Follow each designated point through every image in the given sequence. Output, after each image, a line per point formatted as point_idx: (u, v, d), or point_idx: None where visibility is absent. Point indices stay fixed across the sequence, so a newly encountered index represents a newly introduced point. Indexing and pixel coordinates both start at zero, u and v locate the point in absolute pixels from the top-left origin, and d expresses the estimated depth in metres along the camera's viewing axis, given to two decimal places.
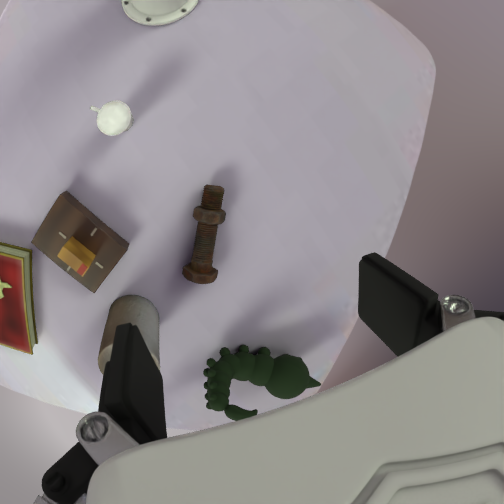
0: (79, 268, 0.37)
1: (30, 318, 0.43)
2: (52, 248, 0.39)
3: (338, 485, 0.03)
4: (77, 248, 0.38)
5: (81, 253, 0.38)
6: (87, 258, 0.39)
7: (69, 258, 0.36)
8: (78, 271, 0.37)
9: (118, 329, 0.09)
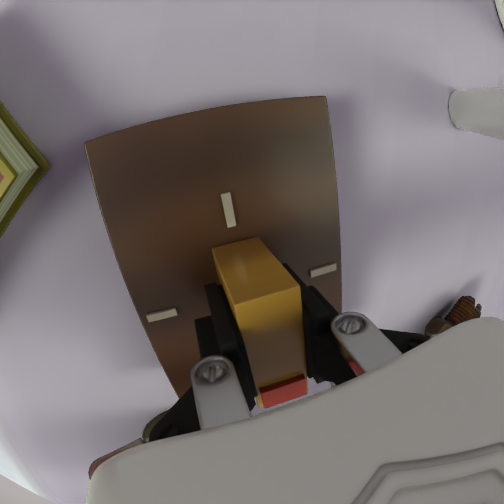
0: (280, 386, 0.10)
1: None
2: (152, 222, 0.11)
3: (338, 485, 0.03)
4: None
5: None
6: None
7: (277, 341, 0.09)
8: (269, 394, 0.10)
9: (207, 287, 0.11)
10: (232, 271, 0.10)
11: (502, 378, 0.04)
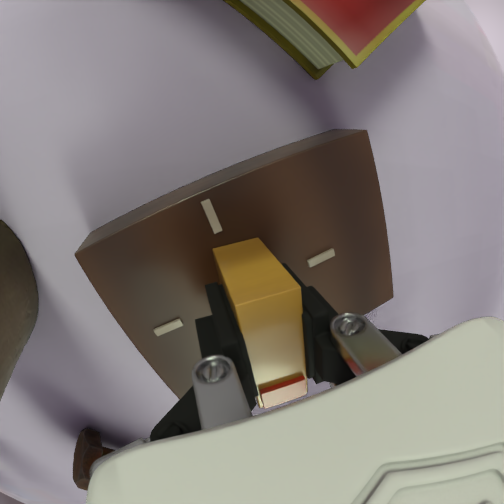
0: (280, 387, 0.10)
1: None
2: (309, 195, 0.12)
3: (338, 485, 0.03)
4: None
5: None
6: None
7: (277, 342, 0.09)
8: (268, 395, 0.10)
9: (208, 287, 0.11)
10: (233, 272, 0.10)
11: (502, 378, 0.04)
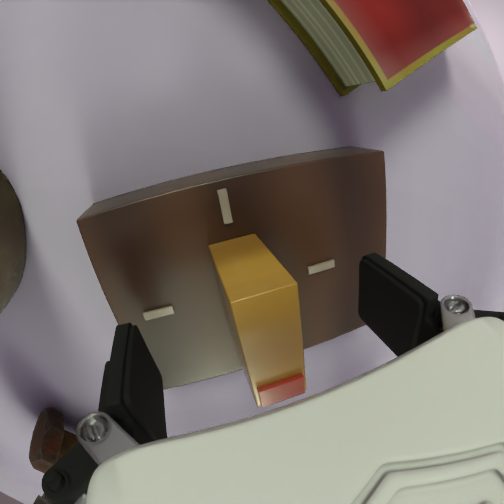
0: (277, 385, 0.10)
1: None
2: (320, 203, 0.13)
3: (338, 485, 0.03)
4: None
5: None
6: None
7: (274, 339, 0.09)
8: (266, 393, 0.10)
9: (118, 329, 0.09)
10: (229, 268, 0.10)
11: (502, 378, 0.04)
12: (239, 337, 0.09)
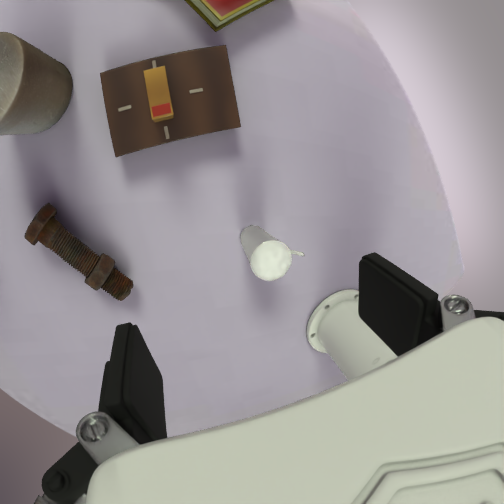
0: (159, 105, 0.23)
1: None
2: (194, 65, 0.26)
3: (338, 485, 0.03)
4: None
5: None
6: None
7: (157, 85, 0.23)
8: (154, 108, 0.23)
9: (118, 329, 0.09)
10: None
11: (502, 378, 0.04)
12: None
